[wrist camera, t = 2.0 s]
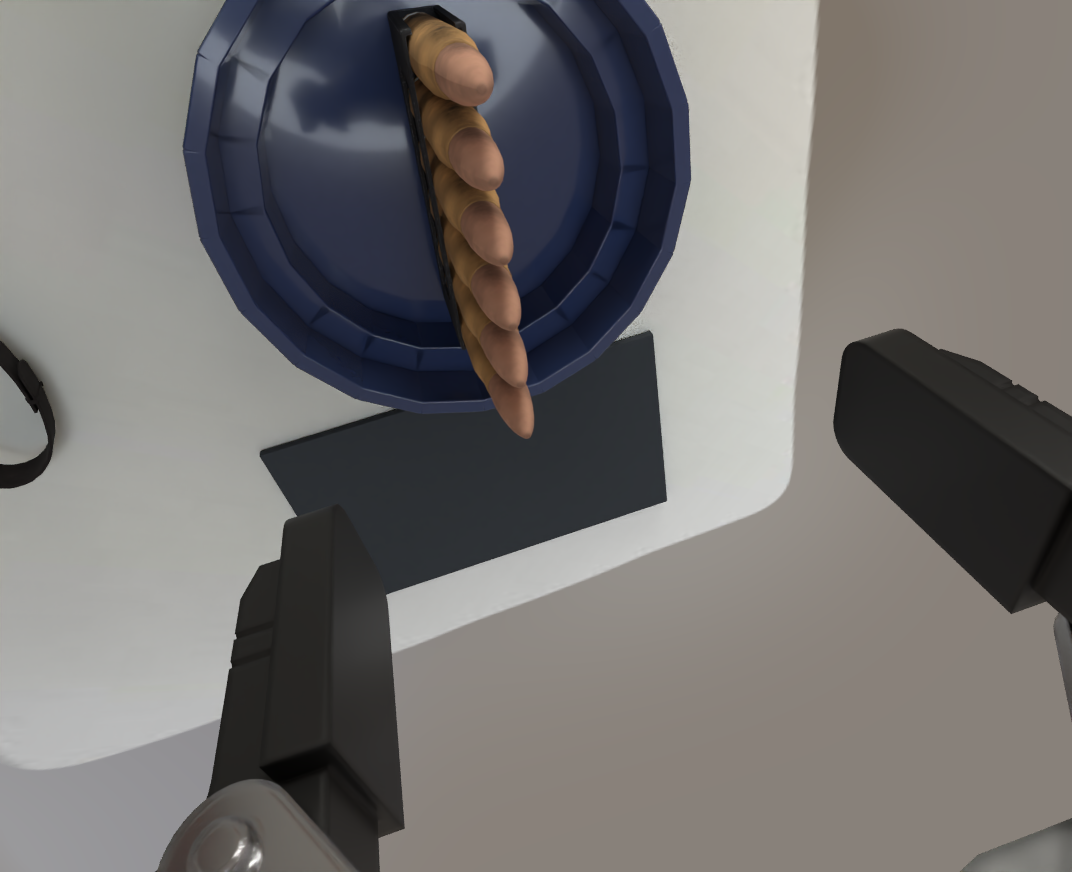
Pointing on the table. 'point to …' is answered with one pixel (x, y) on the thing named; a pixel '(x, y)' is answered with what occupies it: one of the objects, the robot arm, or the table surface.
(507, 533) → the desk mat
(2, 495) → the table surface
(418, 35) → the ammunition clip
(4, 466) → the watch
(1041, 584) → the robot arm
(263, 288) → the bowl
